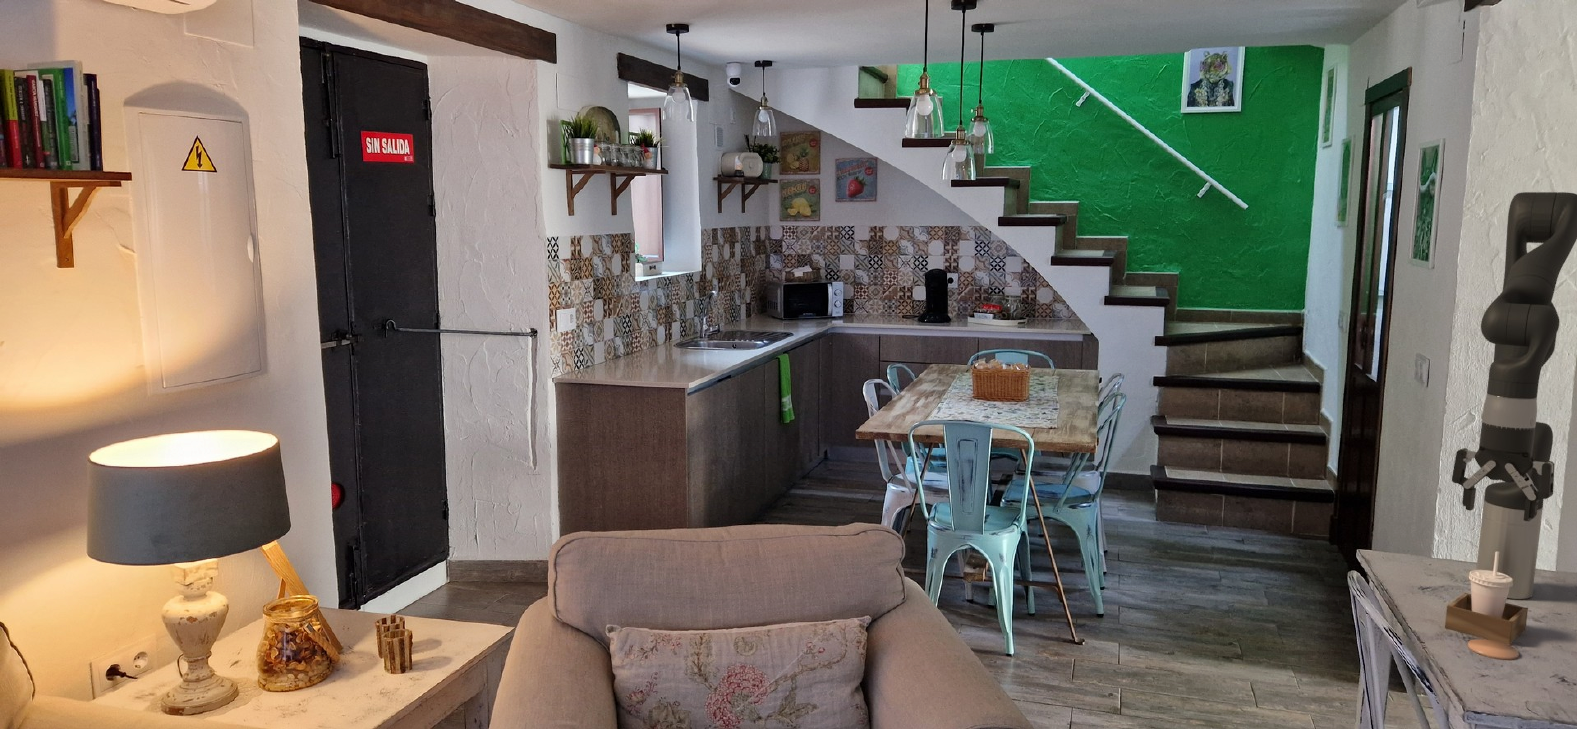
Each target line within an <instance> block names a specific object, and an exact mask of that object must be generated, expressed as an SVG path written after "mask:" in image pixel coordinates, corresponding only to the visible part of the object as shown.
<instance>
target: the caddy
mask: <svg viewBox="0 0 1577 729" xmlns="http://www.w3.org/2000/svg"><path fill="white" fill-rule="evenodd" d="M1528 611H1529V608H1528V607H1525V606H1521V605H1516V604H1513V603H1509V602H1506V603H1505V607H1504V611H1503V614H1502V618H1497V617H1493V616H1489V615H1485V614H1481V613H1477V612H1473V611H1472V599H1471V593H1466V592H1464V593H1463V594H1461V595H1460V596H1459V597H1457V598H1456V599H1455V600H1453V601H1452V602H1450V603H1449V604H1448V605H1447V606H1446V613H1445V622H1444V628H1445V629H1446V630H1447V629H1448V630H1451V631H1455V632H1459V633H1462V634H1466V635H1469V636H1470V635H1471V636H1473V637H1478V638H1480V639H1485V640H1492V641H1497V642H1501V643H1504V644H1507V645H1509V646H1511V644H1512V643H1513V642H1514V641H1516V640H1517V639H1518V638H1519V637H1520V636H1521V635H1522V634H1523V633H1524V632H1525V631H1526V630H1527V628H1526V627H1527V619H1528Z"/></svg>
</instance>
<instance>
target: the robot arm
mask: <svg viewBox="0 0 1577 729" xmlns="http://www.w3.org/2000/svg"><path fill="white" fill-rule="evenodd" d="M1507 214H1508V215H1507V225H1506V226H1507V227H1506V239H1505V240H1506V241H1505V242H1506V243H1505V245H1506V246H1505V258H1504V259H1505V263H1504V274H1503V275H1504V276H1503V285H1502V290H1501V293H1499V295H1498V296H1497V297H1496V298H1495V299H1494V300H1493V301H1492V302H1491V303H1490V304H1489V306H1488V307H1487V308H1486V310H1485V312H1484V313H1483V316H1482V317H1481V321H1480V322H1481V324H1480V331H1481V334H1482V336H1483V338H1484V339H1485V340H1486V341H1488V342H1489V343H1491V344H1494V352H1493V361H1492V362H1491V364H1490V366H1489V373H1488V380H1487V388H1486V390H1487V391H1486V396H1485V400H1484V403H1483V408H1482V409H1483V410H1482V412H1481V426H1480V435H1479V444H1478V450H1477V451H1474V450H1469V449H1468V448H1466V447H1464V448H1460V449H1459V450H1457V451H1456V453H1455V458H1454V459H1455V460H1454V465H1453V470H1452V475H1451V482H1452V483H1453V484H1457V485H1460V486H1461V487H1462V488H1463V491H1462V500H1461V501H1462V503H1461V504H1462V506H1463V507H1465V510H1466V511H1472V510H1474V508H1475V500H1476V493H1477V488H1476V487H1475V486H1476V485H1477V484H1478V483H1479V482H1480V481H1482V480H1483V479H1484V478H1486V477H1487V478H1488V479H1489V480H1490V481H1491V480H1492V481H1500V482H1494V483H1491V484H1488V485H1487V486H1486V488H1485V490H1484V497H1483V503H1482V504H1483V505H1482V512H1481V513H1482V515H1481V524H1480V525H1481V526H1480V534H1479V542H1478V550H1477V552H1478V554H1477V561H1476V568H1475V570H1488V571H1493V569H1494V561H1495V552H1496V551H1498V552H1499V560H1498V569H1497V572H1499V573H1502V574H1505V575H1508V576H1510V577H1511V578H1512V579H1513V583H1512V584H1513V586H1511V587H1510V589H1509V593H1508V596H1507V599H1515V600H1517V599H1518V600H1521V599H1522V600H1526V599H1530V598H1532V597H1533V592H1534V583H1535V577H1536V576H1535V575H1536V567H1537V560H1538V550H1539V542H1540V535H1541V526H1542V518H1543V508H1544V500H1547V499H1549V498H1550V497H1552V496H1553V495H1554V487H1555V486H1554V482H1555V463H1554V462H1553V461H1552V460H1551V456H1552V450H1553V443H1554V433H1553V430H1552V427H1551V426H1550V425H1549V424H1548V423H1545V422H1541V421H1537V417H1538V403H1537V402H1538V390H1539V384H1540V382H1539V381H1540V376H1541V373H1542V372H1541V371H1542V369H1543V367H1544V365H1545V364H1546V363H1547V362H1548V361H1549V360H1550V358H1552V356H1553V353H1554V351H1555V348H1556V342H1557V341H1556V340H1557V334H1558V331H1559V328H1560V317H1559V315H1558V312H1557V308H1556V307H1555V306H1554V303H1553V298H1554V293H1555V290H1556V285H1557V282H1558V278H1559V274H1560V273H1561V270H1562V268H1563V266H1564V264H1565V263H1566V261H1567V259H1568V257H1569V255H1570V253H1571V252H1572V250H1573V248H1574V245H1575V244H1576V241H1577V193H1573V192H1568V191H1567V192H1566V191H1565V192H1563V191H1561V192H1558V191H1557V192H1556V191H1555V192H1554V191H1551V192H1550V191H1549V192H1547V191H1545V192H1543V191H1542V192H1541V191H1534V192H1533V191H1530V192H1529V191H1527V192H1524V191H1522V192H1518V193H1515V195H1514V196H1513V197H1512V200H1511V201H1510V204H1509V208H1508V213H1507ZM1528 243H1529V244H1530V243H1531V244H1540V245H1538V246H1537V247H1535V248H1533V249H1532V250H1530V251H1528V250H1527V248H1528V247H1527V245H1528ZM1473 459H1474V460H1475V462H1476V463H1477V465H1478V466H1479V469H1478V470H1477V471H1476V472H1474V473H1473V474H1472V475H1471V476H1470V477H1469V478H1467V477H1466V476H1465V474H1466V470H1467V464H1468V463H1470V462H1471V461H1472V460H1473ZM1501 481H1502V482H1501Z"/></svg>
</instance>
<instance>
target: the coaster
mask: <svg viewBox="0 0 1577 729" xmlns="http://www.w3.org/2000/svg"><path fill="white" fill-rule="evenodd" d="M1467 647H1468V649H1469V650H1470V651H1472V652H1473V653H1475V654H1478V655H1481V656H1483V657H1488V658H1490V659H1491V658H1492V659H1495V660H1496V659H1497V660H1503V661H1504V660H1506V661H1507V660H1508V661H1509V660H1510V661H1511V660H1515V659H1517V658H1519V655H1520V654H1519V653H1520V652H1519V650H1518V649H1516V648H1515V647H1514V646H1512V645H1507V644H1504V643H1501V642H1497V641H1492V640H1488V639H1484V638H1476V639H1474V638H1473V639H1471V640H1469V641H1468V642H1467Z"/></svg>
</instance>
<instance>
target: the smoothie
mask: <svg viewBox="0 0 1577 729" xmlns="http://www.w3.org/2000/svg"><path fill="white" fill-rule="evenodd" d="M1498 560H1499V552H1498V551H1496V552H1495V561H1494V569H1493V571H1488V570H1476V569H1474V570H1470V572H1469V575H1468V579H1469V580H1470V594H1471V599H1472V611H1473V612H1477V613H1481V614H1485V615H1489V616H1493V617H1497V618H1502V614H1503V611H1504V607H1505V603H1507V599H1508V598H1507V596H1508V593H1509V589H1510V587H1511V586H1513V584H1512V583H1513V579H1512V578H1511V577H1510V576H1508V575H1505V574H1502V573H1499V572H1497V569H1498Z"/></svg>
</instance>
